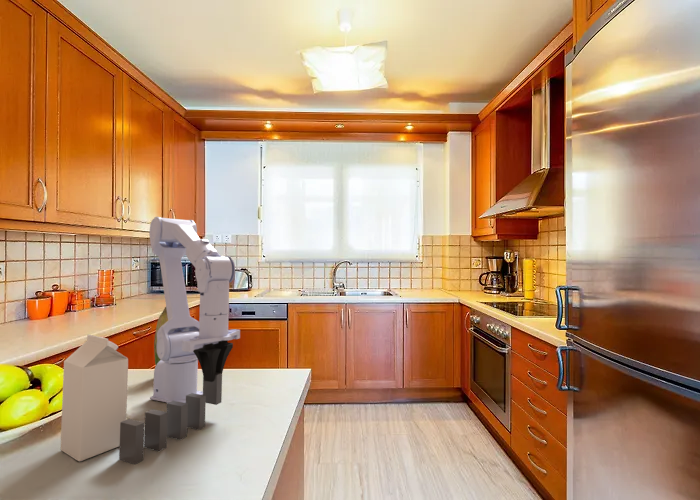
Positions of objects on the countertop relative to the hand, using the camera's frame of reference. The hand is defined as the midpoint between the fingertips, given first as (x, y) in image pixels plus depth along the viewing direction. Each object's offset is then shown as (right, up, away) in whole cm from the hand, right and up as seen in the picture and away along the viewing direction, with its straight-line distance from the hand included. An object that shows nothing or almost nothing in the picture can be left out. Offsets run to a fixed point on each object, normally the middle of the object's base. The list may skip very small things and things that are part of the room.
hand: (212, 379), depth 77 cm
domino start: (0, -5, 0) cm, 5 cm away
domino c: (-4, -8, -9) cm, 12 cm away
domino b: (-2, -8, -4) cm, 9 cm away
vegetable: (-23, -9, +26) cm, 36 cm away
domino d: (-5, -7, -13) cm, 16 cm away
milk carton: (-16, -7, -13) cm, 22 cm away
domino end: (-7, -7, -17) cm, 20 cm away
